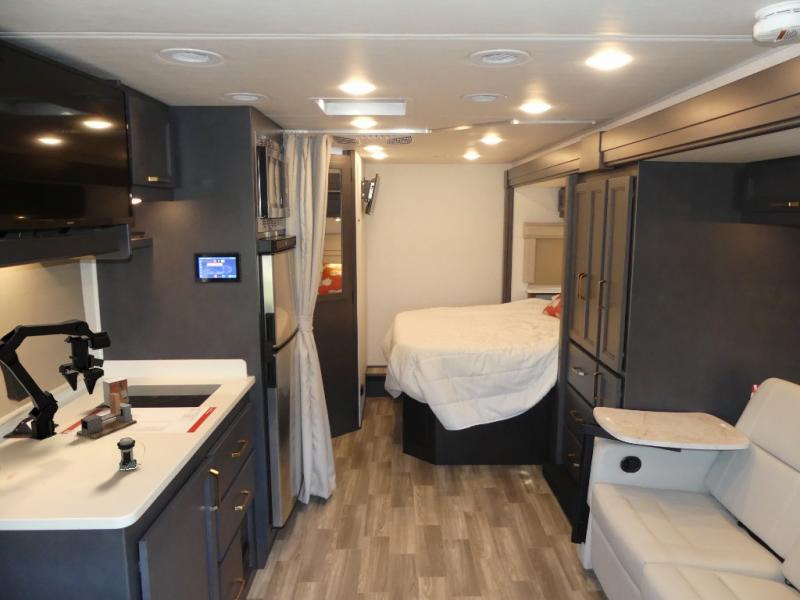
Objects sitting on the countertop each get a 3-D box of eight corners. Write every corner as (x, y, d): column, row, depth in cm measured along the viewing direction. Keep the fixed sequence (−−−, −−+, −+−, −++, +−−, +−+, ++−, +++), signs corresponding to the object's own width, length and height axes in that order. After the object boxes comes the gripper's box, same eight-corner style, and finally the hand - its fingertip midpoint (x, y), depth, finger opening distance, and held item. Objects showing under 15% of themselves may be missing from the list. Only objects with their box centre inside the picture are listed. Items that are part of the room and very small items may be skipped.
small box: (110, 407, 244) (108, 383, 242) (103, 404, 247) (101, 380, 246) (129, 402, 250) (127, 378, 249) (122, 399, 254) (120, 376, 252)
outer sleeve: (89, 435, 212) (88, 421, 211) (81, 433, 214) (80, 419, 213) (102, 430, 217) (101, 416, 216) (95, 428, 219) (94, 414, 218)
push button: (143, 464, 191) (141, 435, 190) (138, 472, 186) (136, 442, 184) (122, 465, 190) (120, 436, 189) (116, 473, 185) (114, 443, 184)
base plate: (95, 439, 211) (95, 436, 211) (76, 434, 215) (76, 432, 215) (136, 422, 227) (136, 420, 227) (118, 418, 231) (118, 416, 231)
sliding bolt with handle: (96, 425, 215) (94, 402, 213) (90, 424, 216) (88, 400, 215) (128, 413, 227) (126, 391, 226) (122, 412, 229) (120, 390, 227)
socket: (126, 422, 225) (124, 407, 224) (115, 419, 228) (114, 404, 227) (132, 419, 228) (131, 404, 227) (122, 417, 230) (121, 402, 229)
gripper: (115, 351, 224) (118, 390, 226) (84, 345, 232) (86, 383, 234) (88, 357, 214) (91, 398, 216) (56, 351, 222) (59, 390, 225)
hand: (83, 392), depth 223 cm, fingers open, 9 cm apart
